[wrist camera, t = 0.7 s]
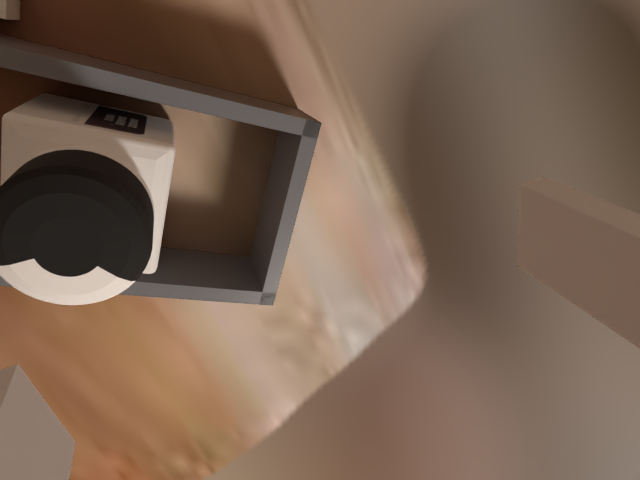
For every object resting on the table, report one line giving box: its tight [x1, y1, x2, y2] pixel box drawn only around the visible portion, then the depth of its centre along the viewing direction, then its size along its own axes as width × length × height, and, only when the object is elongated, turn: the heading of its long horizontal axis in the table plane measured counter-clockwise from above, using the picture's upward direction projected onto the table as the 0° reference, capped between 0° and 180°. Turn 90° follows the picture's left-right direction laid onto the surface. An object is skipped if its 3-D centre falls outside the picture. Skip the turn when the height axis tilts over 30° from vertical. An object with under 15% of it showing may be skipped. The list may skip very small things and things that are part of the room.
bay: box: [0, 34, 321, 305], centre depth 28 cm, size 19×13×6 cm
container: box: [0, 93, 175, 305], centre depth 24 cm, size 8×8×13 cm
